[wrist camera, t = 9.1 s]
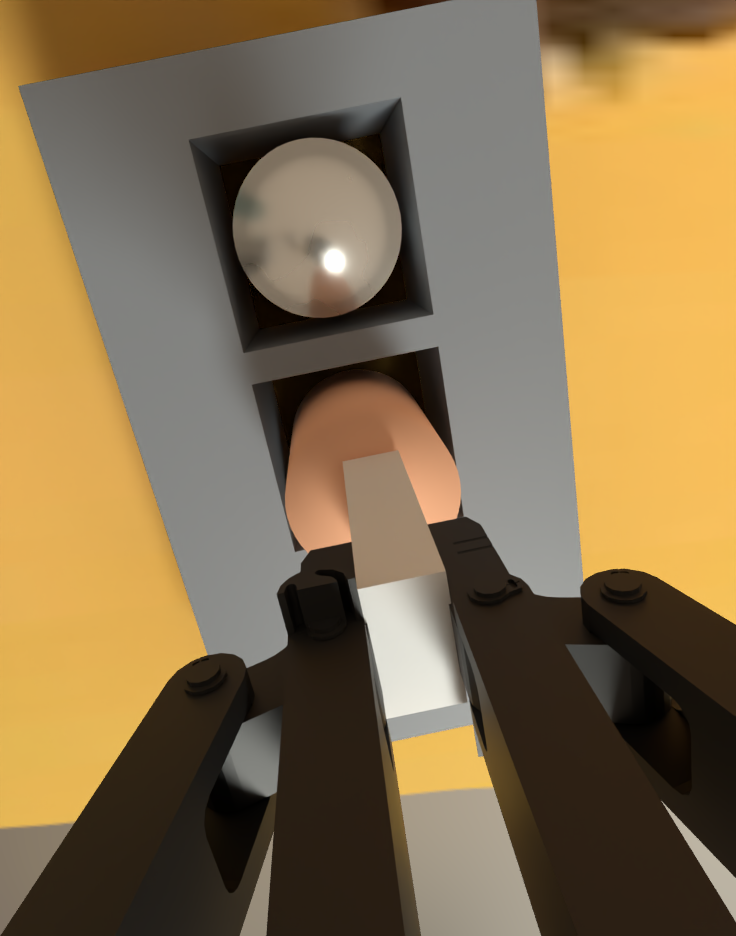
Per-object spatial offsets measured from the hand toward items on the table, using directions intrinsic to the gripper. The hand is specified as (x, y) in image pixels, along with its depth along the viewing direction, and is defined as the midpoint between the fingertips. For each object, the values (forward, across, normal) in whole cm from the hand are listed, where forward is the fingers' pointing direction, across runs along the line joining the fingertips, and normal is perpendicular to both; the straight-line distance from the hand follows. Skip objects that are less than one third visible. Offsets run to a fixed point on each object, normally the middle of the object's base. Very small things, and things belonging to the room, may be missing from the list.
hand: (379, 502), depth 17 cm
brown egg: (+7, 0, 0) cm, 7 cm away
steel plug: (+10, 0, +7) cm, 12 cm away
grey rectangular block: (+10, 0, 0) cm, 10 cm away
